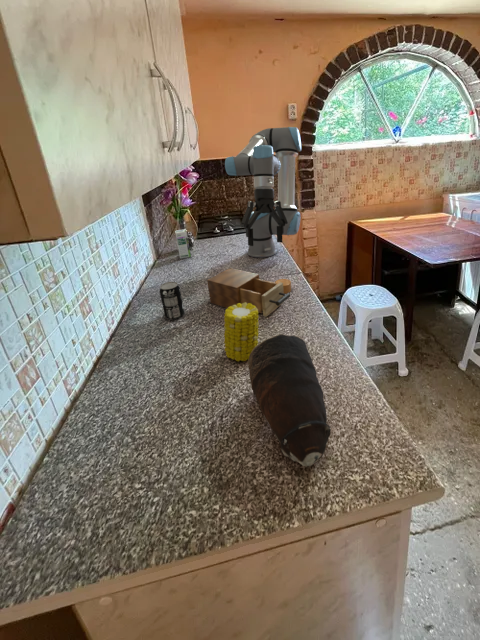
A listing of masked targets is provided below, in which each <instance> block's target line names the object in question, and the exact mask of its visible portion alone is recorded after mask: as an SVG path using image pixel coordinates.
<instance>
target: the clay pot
mask: <svg viewBox="0 0 480 640" xmlns="http://www.w3.org/2000/svg"><path fill="white" fill-rule="evenodd" d="M247 367H248V371H249V373H248V374H249V380H250V385H251V391H252V393H253V395H254V396H255V399H256V402H257V403H258V406H259V409H260V411H261V413H262V415H263V418H264V419H265V421H266V422H267V424H268V425H269V427H270V428H271V430H272V432H273V433H274V436H275V438H276V439H277V441H278V442H279V444H280V450H281V452H282V454H283V457H287V458H288V459H290V460H292V461H293V462H296V463H299V464H300V465H301V466H303V467H312V466H313V465H314V464H315V463H317V462H318V461H319V460H320V459H322V458H323V455H324V453H325V451H326V448H327V444H328V441H329V439H330V436H331V431H332V430H331V426H330V425H329V424H328V421H327V420H328V419H327V418H328V416H327V407H326V404H325V400H324V391H323V388H322V386H321V384H320V381H319V378H318V377H317V370H316V367H315V365H314V362H313V359H312V357H311V354H310V352H309V349H308V346H307V343H306V342H305V340H304V339H303V338H302V337H300V336H299V335H294V334H292V335H289V334H283V333H282V334H281V333H278V334H275V335H273V336H271V337H268V338H266V339H263V340H262V341H261V342H258V344H257V346H256V347H255V348H254V349H253V350H252V352H251V354H250V356H249V360H248V359H247Z"/></svg>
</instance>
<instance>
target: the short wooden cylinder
mask: <svg viewBox="0 0 480 640" xmlns="http://www.w3.org/2000/svg"><path fill="white" fill-rule="evenodd" d="M280 282H281V283H283V291H284V294H287V293H289V294H290V293H291V292H292V281H291V280H290V279H289V278H280V279H277V280H275V281H274V283H276V285H277V284H279V283H280Z"/></svg>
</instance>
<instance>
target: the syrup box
mask: <svg viewBox="0 0 480 640" xmlns="http://www.w3.org/2000/svg"><path fill="white" fill-rule="evenodd" d="M174 234H175V240H176V244H177V245H176V246H177V250H178V255H179V259H182V260H183V259H186V258H191V257H192V255H191V250H190V249H191V248H190V244H189V238H188V232H187V229H185V228H184V229H178V230H175V231H174Z"/></svg>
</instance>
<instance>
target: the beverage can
mask: <svg viewBox="0 0 480 640" xmlns="http://www.w3.org/2000/svg"><path fill="white" fill-rule="evenodd" d="M159 295H160V300H161V304H162V309H163V314H164V317H165V318H166V319H167V320H172V321H173V320H177V319H178V320H179V319H180V318H182V317H183V315H184V314H185V308H184V302H183V297H182V293H181V287H180V285H179V284H178V282H177V281H167V282H164V283H162V284H161V285H160V286H159Z"/></svg>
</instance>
